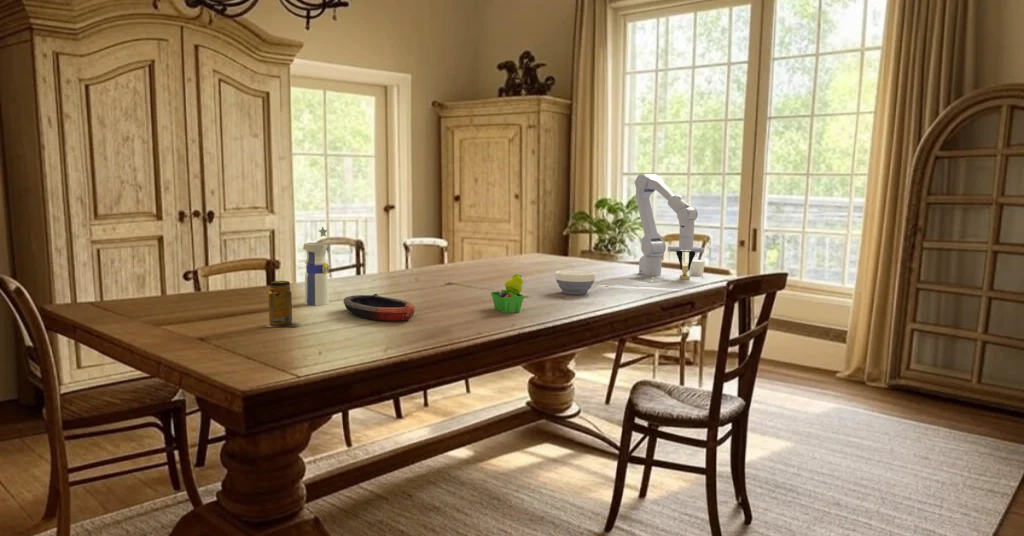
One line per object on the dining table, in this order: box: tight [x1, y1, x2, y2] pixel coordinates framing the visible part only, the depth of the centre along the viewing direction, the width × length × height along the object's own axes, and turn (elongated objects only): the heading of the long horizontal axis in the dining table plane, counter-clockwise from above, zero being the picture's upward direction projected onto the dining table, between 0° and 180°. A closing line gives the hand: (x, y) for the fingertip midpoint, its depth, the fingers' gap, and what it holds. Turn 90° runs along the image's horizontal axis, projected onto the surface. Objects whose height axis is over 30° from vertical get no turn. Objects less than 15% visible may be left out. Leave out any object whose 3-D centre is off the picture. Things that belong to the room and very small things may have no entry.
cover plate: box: [628, 276, 677, 284], centre depth 291 cm, size 14×14×1 cm
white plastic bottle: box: [302, 226, 330, 307], centre depth 229 cm, size 8×9×25 cm
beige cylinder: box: [688, 259, 706, 277], centre depth 311 cm, size 7×7×7 cm
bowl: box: [554, 269, 596, 296], centre depth 259 cm, size 14×14×8 cm
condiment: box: [265, 280, 303, 328], centre depth 196 cm, size 7×8×12 cm
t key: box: [679, 263, 691, 281], centre depth 295 cm, size 9×4×6 cm, turn 167°
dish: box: [343, 293, 416, 322], centre depth 212 cm, size 16×31×5 cm, turn 43°
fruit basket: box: [490, 273, 525, 314], centre depth 224 cm, size 11×9×11 cm
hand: (684, 269), depth 295 cm, fingers closed on t key, 2 cm apart
